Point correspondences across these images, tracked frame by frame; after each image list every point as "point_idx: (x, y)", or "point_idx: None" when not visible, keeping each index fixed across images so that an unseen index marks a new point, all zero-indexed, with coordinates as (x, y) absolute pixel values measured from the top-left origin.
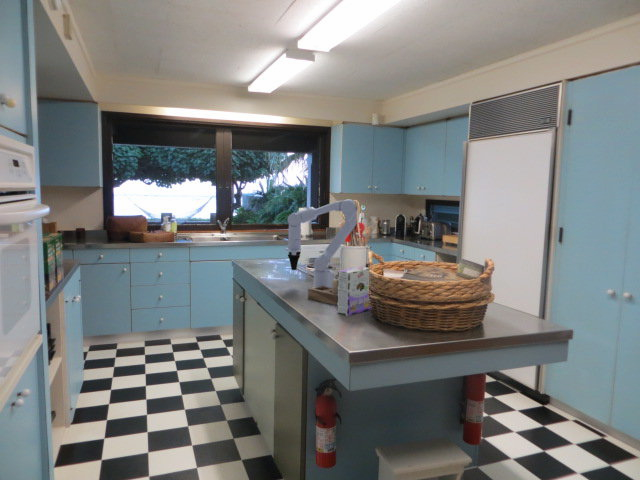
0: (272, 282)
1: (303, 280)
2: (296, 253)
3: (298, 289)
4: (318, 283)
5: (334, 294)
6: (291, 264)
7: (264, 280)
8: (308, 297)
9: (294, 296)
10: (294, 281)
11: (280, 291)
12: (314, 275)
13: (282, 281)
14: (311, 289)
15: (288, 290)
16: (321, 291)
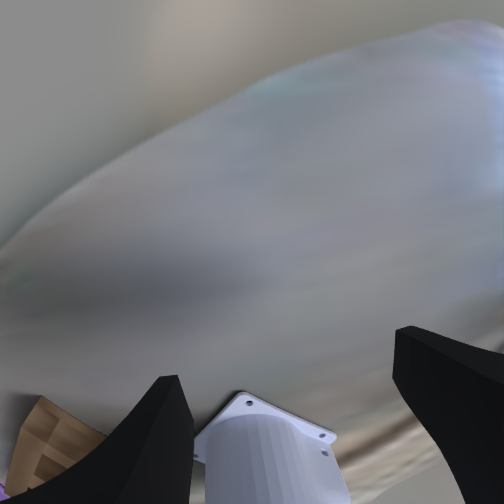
0: (431, 86)
1: (492, 284)
2: (498, 502)
3: (236, 321)
4: (206, 470)
5: (9, 492)
6: (131, 431)
7: (462, 39)
8: (39, 399)
9: (38, 327)
10: (474, 236)
11: (135, 202)
12: (232, 490)
13: (468, 154)
14: (19, 438)
15: (184, 256)
16: (16, 468)
